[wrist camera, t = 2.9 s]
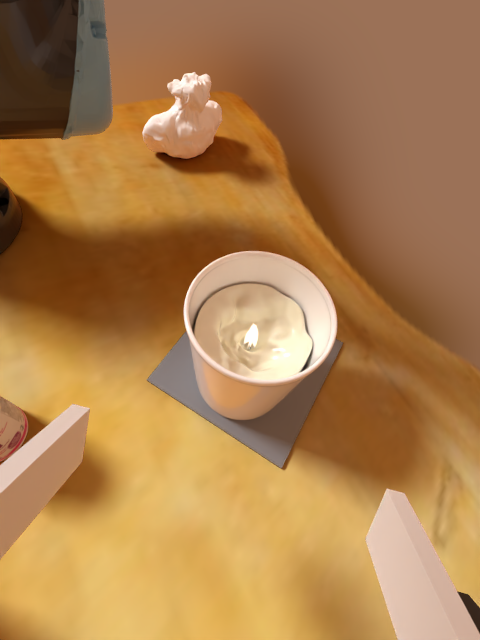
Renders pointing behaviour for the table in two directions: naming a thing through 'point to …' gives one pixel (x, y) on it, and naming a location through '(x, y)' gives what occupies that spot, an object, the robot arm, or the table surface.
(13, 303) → the table surface
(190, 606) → the table surface
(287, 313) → the candle holder
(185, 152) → the bust
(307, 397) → the gray tile
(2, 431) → the pill bottle
